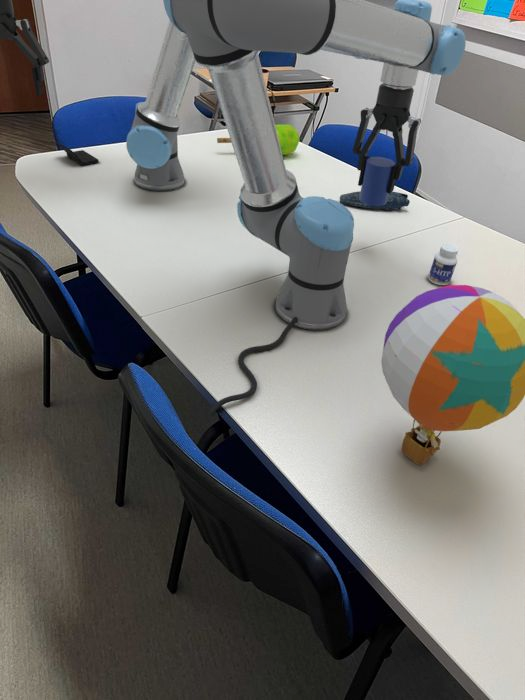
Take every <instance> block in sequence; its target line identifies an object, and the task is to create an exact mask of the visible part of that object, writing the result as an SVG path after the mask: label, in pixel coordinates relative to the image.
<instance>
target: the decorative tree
mask: <svg viewBox="0 0 525 700" xmlns="http://www.w3.org/2000/svg"><path fill="white" fill-rule="evenodd" d="M275 127H276V131H277V135H278V139H279V143H280V147H281V152H282V156H289V155H290V154H292V153H295V151H296V150H297V148H298V145H299V143H300V134H299V131H298V130H296V129H295V127H294V126H293V125H291V124H275ZM216 142H217V144H232V142H231V139H230V137H217V138H216Z"/></svg>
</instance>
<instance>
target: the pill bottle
mask: <svg viewBox="0 0 525 700" xmlns="http://www.w3.org/2000/svg"><path fill="white" fill-rule="evenodd" d="M458 252H459V248H458V247H457V245H454V244H451V243H443V244H442V245H440V248H439V251H438V252H437V253H436V254H435V255H434V258H433V261H432V264H431V266H430V270H429V273H428V276H427V278H428V280H429V282H431V283H433V284H435V285H438V286H448V285H450V283H451V280H452V278H453V275H454V272H455V269H456V266H457V264H458V258H457V257H458V256H457V255H458Z"/></svg>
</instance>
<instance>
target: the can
mask: <svg viewBox="0 0 525 700" xmlns="http://www.w3.org/2000/svg"><path fill="white" fill-rule="evenodd" d="M395 164H396V161H394V160H393V159H391V158H387V157H382V156H371V157H370V158H368V159H367V161H366V166H365V171H364V176H363V181H362V185H361V186H360V187H361V188H360V191H361V192H360V197H359V200H360V201H361V202H363V203H365V204H367V205H372V206H382V205H385V204H386V203H387V198H388V194H389V193H387V191H388V186H389V182H390V177H391V173H392V168H393V166H394V165H395Z"/></svg>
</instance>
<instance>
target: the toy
mask: <svg viewBox="0 0 525 700" xmlns="http://www.w3.org/2000/svg"><path fill="white" fill-rule="evenodd" d="M381 369H382V370H381V371H382V373H383V376H384V379H385V381H386V384H387V386H388V388H389V391H390V392H391V395H392V397H393V398H394V400H395V401H396V403H398V404H399V405H400V407H401V408H402V409H403V410H404V411H405V412H406V413H407V414H408V415H409V416H410V417H411V418H412V419H413V421H412V422H413V423H412V428H411V429H410V431H406V432H405V434H404V435H405V436H404V438H403V441H402V445H401V453H402V454H403V455H404V456H406V457H407V458H408V459H410V461H412V462H413V463H415V464H416V465H417V466H419V467H420V466H422V465H424V464H425V463H426V462H427V461H428V460H430V459H431V458H432V457H434V456H435V454H436V453H437V451H440V449H441V447H440V446H441V443H442V440H441V439H440V438H439V436H441V434H442V432H461V431H462V432H463V431H473V430H480V429H483V428H484V427H486V426H488V425H491V424H493V423H496V422H498V421H499V420H501V419H503V418H507V416H509V415H510V414H511V413H513V412H514V411H515V410H516V409H518V407H519V405H520V404H521V403H522V401H523V400H524V398H525V317H524V316H523V315H522V314H521V313H520V311H518V309H517V308H516V307H515V305H513V304H512V302H510V301H509V300H507V299H506V298H504V297H503V296H501V295H499V294H497V293H496V292H493V291H490V290H488V289H485V288H482V287H479V286H473V285H467V284H447V285H443V286H440V287H436V288H433V289H430V290H426V291H424V292H423V293H420V294H419V295H417V296H415V297H414V298H413V299H412V300H410V301H409V302H408V303H407V304H406V305H405V306H404V307H403V308H402V309H400V310H399V311H398V312H397V313H396V314H395V316H394V317H393V318H392V320H391V322H390V323H389V324H388V327H387V329H386V332H385V335H384V342H383V350H382V355H381ZM415 423H417V424H418V425H417V426H416V427H415ZM435 431H436V432H439V433H438V434H437V435H436V433H435Z"/></svg>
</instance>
